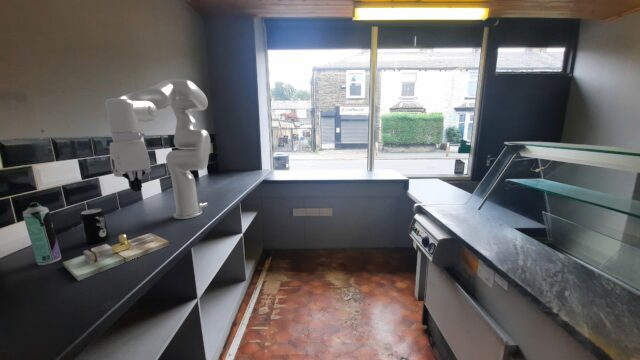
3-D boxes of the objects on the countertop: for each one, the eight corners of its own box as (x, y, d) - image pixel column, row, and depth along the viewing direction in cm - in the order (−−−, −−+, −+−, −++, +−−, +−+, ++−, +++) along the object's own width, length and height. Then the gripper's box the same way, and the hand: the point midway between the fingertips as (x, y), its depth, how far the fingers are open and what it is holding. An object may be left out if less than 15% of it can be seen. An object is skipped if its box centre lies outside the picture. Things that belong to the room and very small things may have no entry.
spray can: (65, 257, 84) (50, 200, 80) (43, 266, 79) (26, 206, 75) (55, 255, 86) (40, 199, 81) (33, 263, 81) (15, 204, 76)
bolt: (128, 245, 88) (125, 232, 87) (131, 247, 87) (128, 234, 86) (91, 258, 80) (88, 244, 79) (94, 260, 79) (91, 246, 78)
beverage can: (96, 245, 93) (88, 214, 90) (82, 243, 94) (74, 213, 91) (113, 237, 99) (107, 208, 96) (100, 236, 100) (93, 207, 98)
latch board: (151, 236, 99) (149, 225, 98) (169, 245, 92) (167, 233, 91) (64, 266, 79) (60, 253, 78) (78, 280, 71) (74, 266, 70)
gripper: (146, 136, 91) (154, 184, 96) (94, 138, 79) (106, 194, 83) (156, 136, 87) (164, 187, 92) (102, 139, 75) (115, 197, 79)
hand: (136, 190), depth 87 cm, fingers closed
